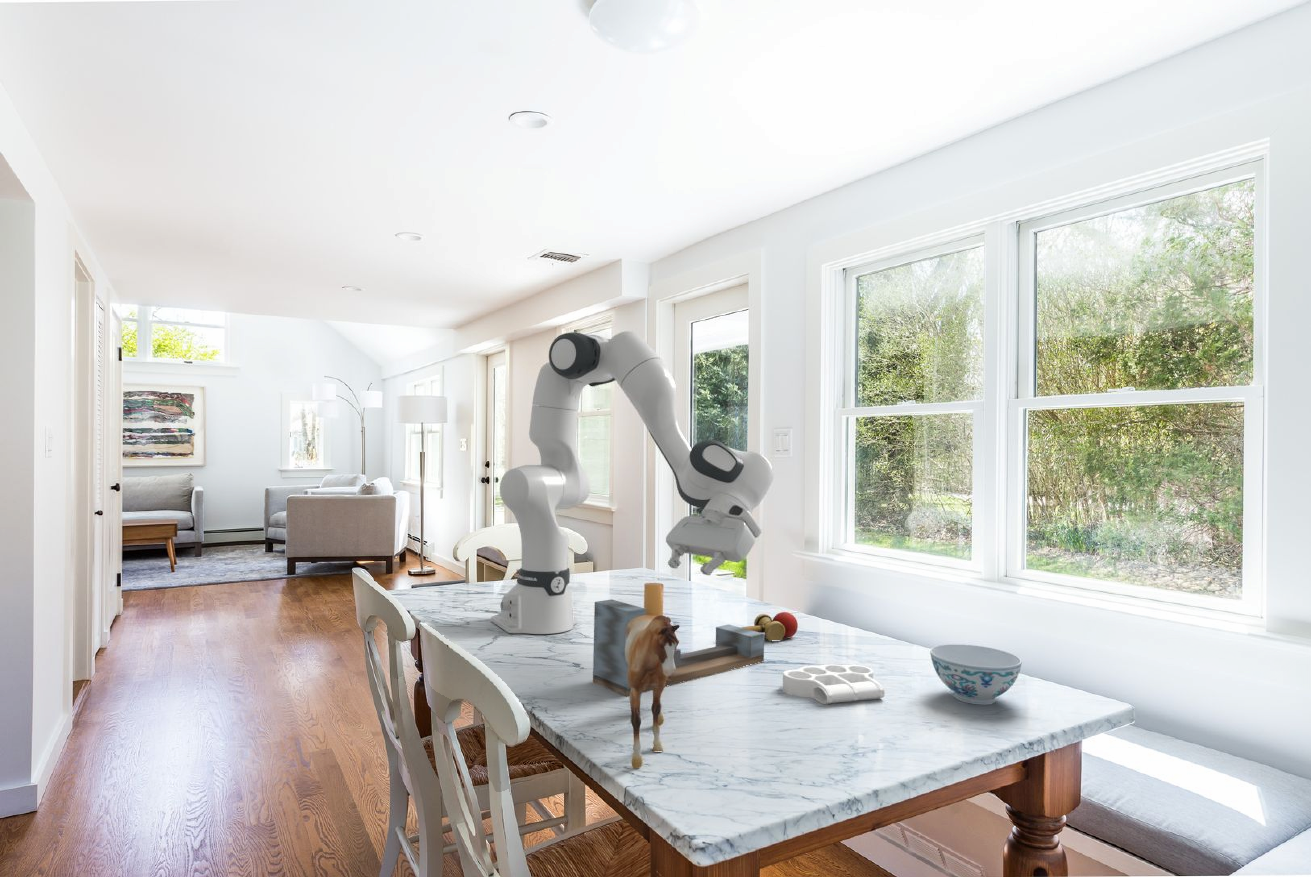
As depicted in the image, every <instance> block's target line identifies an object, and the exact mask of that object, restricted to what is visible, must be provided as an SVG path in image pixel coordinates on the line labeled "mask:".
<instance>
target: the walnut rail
mask: <svg viewBox="0 0 1311 877" xmlns="http://www.w3.org/2000/svg"><path fill="white" fill-rule="evenodd" d="M593 611H594V615H593V617H594V618H593V622H594V623H593V656H592V657H593V662H592V663H593V664H592V669H593V670H592V683H594V684H596V685H598V686H601V685H602V686H601V687H603V686H604V687H603V688H606V689H609V690H610V689H611V691H613V692H615V693H618V694H620V695H622V696H625V697H630V691H631V688H630V686H629V683H628V679H627V674H628V668H629V665H628V664H627V662H626V659H625V644H626V640H627V626H628V624H629V622H630V621H631V620H633V619H634V618H636V617H639V616H644V615H646V609H645V608H644V607H641V606H638V605H634V604H630V603H627V602H624V601H623V602H622V601H619V600H615V599H607V600H598V601H594V610H593ZM762 661H764V662H765V633H759V632H756V631H752V630H748V629H744V628H741V627H739V626H735V625H732V624H726V625H720V626H715V646H713V647H707V648H703V649H699V650H694V651H690V652H685V653H681V659H680V664H676V665H675V667H676V670H675V671H674V672H673V677H671V678H668V679H670V680H671V681H672V682H668V681H666V683H665V686H666V687H668V686H667V685H670V686H674V685H678V684H681V683H680V682H682V683H684V682H683V681H686V682H690V681H693V679H694V680H697V678H698V679H701V678H700V677H702V678H704V677H705V678H706V677H708V676H713V675H716V673H717V674H721V673H724V672H729V671H732V670H731V669H733V670H735V669H734V668H737V669H741V668H744V667H743V666H745V667H747V666H746V665H749V666H751V665H750V664H753V665H756V664H755V663H757V664H759V663H758V662H761V663H763V662H762ZM740 667H741V668H740ZM728 670H729V671H728ZM712 674H713V675H712ZM650 691H653V688H652V686H650V687H648V688H647V689H645V690H644V691H643V692H642V693H645V692H650Z"/></svg>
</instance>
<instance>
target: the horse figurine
mask: <svg viewBox="0 0 1311 877" xmlns="http://www.w3.org/2000/svg"><path fill="white" fill-rule="evenodd" d="M671 622H672V620H671V618H670V617H669V616H666V615H663V616H661V615H660V616H648V615H644V616H639V617H636V618H634V619H633V620H631V621H630V622H629V624H628V626H627V640H626V644H625V659H626V662H627V664H628V665H629V668H628V674H627V679H628V683H629V686H630V688H631V691H630V696H629V705H630V706H629V707H630V711H631V712H630V713H631V715H630V722H631V726H632V729H633V744H632V745H633V746H632V750H633V754H632V759H631V767H632V768H633V769H639V767H640V768H641V767H642V765H643V756H642V754H641V753H640V752H641V750H642V749H641V748H642V745H641V740H640V728H641V725H642V720H641V713H642V712H641V696H642V693H644V692H643V691H644V690H645V689H647V688H648V687H650V686H652V688H653V690H652V703H651V709H650V710H651V714H652V732H651V733H652V735H653V741H652V744H653V746H652V751H653V750H654V751H662V752H664V749H663V746H662V740H661V738H660V733H661V729H660V726H662V725H663V724H664V722H665V718H664V714H663V711H662V708H663V704H662V701H661V697H662V693H663V691H664V689H665V683H666V681H668V682H672V681H671V680H670V679H668V678H671V677H673V672H674V671H675V670H676V667H675V663H674V653H675V650H676V649H677V647H678V645H679V643H680V640H679V639H678V638H677V635H676V631H677V630H678V629H679V628H680V627H681V626H680V624H675V625H672V624H671ZM654 751H653V752H654Z"/></svg>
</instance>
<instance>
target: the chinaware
mask: <svg viewBox="0 0 1311 877" xmlns="http://www.w3.org/2000/svg"><path fill="white" fill-rule="evenodd" d="M929 653H930V658H931V662H932V666H933V668H934V671H935V673H936V675H937V676H938V678H939V679H940V680H941V682H942V683H943V684H944V685H945V686H946V687H947V688H948V689H950V691H952V692H953V696H954V698H956V700H959V701H961V702H963V703H968V704H973V705H981V706H984V705H992V704H994V703H995V701H996V698H997V697H1000V696H1001V695H1003V694H1005V693H1006V692H1008V691H1009V689H1010V688H1012V686H1013V685H1014V684H1015V683H1016V681H1017V679H1018V677H1019V674H1020V672H1021V667H1022V662H1023V661H1022V659H1021V658H1020V657H1019V656H1017V655H1015V654H1013V653H1011V652H1008V651H1005V650H1001V649H997V648H994V647H988V646H987V647H986V646H984V645H983V646H981V645H974V644H973V645H972V644H964V643H963V644H960V643H958V644H957V643H956V644H955V643H954V644H953V643H952V644H950V643H949V644H948V643H947V644H940V645H936V646H932V648H930V650H929Z"/></svg>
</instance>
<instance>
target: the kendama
mask: <svg viewBox="0 0 1311 877" xmlns="http://www.w3.org/2000/svg"><path fill="white" fill-rule="evenodd" d="M798 625H799V624H798V619H797V618H796V616H795V615H793V613H790V612H786V611H781V612H778V613H777V614H776V615H774V617H773V618H772V617H771V616H770V615H768V614H766V613H761V614H759V615H757V616H756V618H755V619H754V622H753V625H749V626H743V627H742V626H741V627H740V628H744V629H748V630H752V631H756V632H759V633H763V634H764V638H765V639H766V640H768V641H769V642H771V641H772V640H780V641H782V640H783V639H790V638H792V637H793V636H795V634H797V631H798V628H799V626H798ZM789 637H790V638H789Z"/></svg>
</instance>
